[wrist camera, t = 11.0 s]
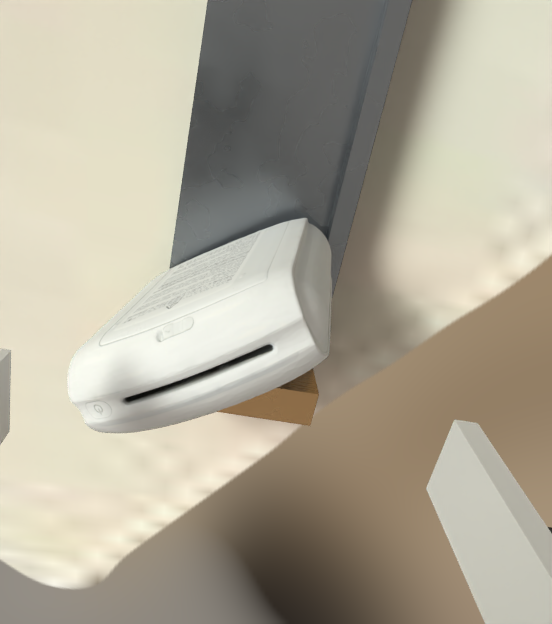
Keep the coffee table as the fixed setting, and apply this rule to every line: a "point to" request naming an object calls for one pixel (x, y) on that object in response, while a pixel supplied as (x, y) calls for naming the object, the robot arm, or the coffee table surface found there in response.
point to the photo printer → (210, 333)
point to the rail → (284, 134)
